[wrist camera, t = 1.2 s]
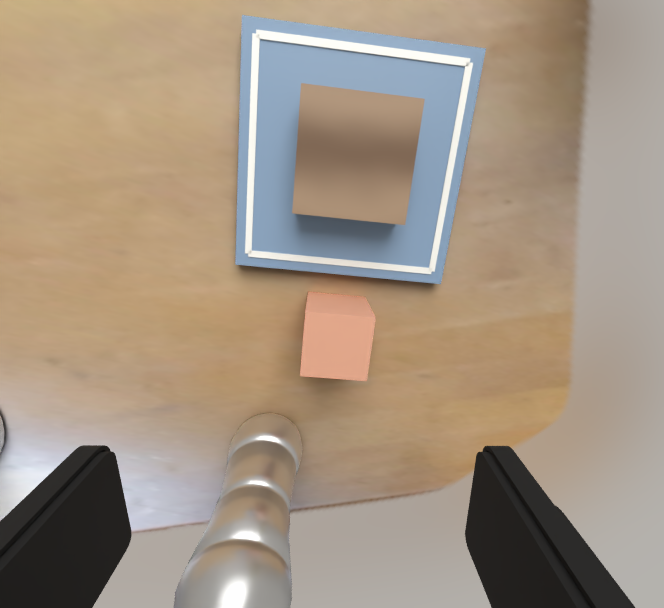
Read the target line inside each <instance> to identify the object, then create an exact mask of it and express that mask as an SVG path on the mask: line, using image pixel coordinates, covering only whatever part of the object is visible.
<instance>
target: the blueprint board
mask: <svg viewBox="0 0 664 608" xmlns="http://www.w3.org/2000/svg"><path fill="white" fill-rule="evenodd" d="M485 51H486V49H485V48H478V47H471V46H463V45H456V44H449V43H441V42H434V41H427V40H420V39H412V38H405V37H398V36H391V35H383V34H376V33H369V32H361V31H354V30H347V29H340V28H332V27H325V26H318V25H310V24H303V23H296V22H289V21H281V20H274V19H267V18H259V17H252V16H245V15H242V36H241V74H240V112H239V151H238V189H237V227H236V265H246V266H257V267H267V268H278V269H288V270H299V271H309V272H320V273H330V274H341V275H351V276H362V277H372V278H383V279H393V280H404V281H415V282H425V283H436V284H441V280H442V275H443V270H444V265H445V259H446V254H447V249H448V244H449V239H450V233H451V228H452V223H453V218H454V212H455V207H456V202H457V197H458V192H459V186H460V181H461V176H462V171H463V165H464V160H465V155H466V150H467V145H468V139H469V134H470V129H471V124H472V118H473V113H474V108H475V103H476V98H477V92H478V87H479V82H480V77H481V72H482V66H483V61H484V56H485ZM301 83H305V84H313V85H321V86H328V87H336V88H344V89H352V90H360V91H368V92H376V93H383V94H391V95H399V96H407V97H415V98H423V99H425V101H424V107H423V114H422V120H421V127H420V133H419V139H418V146H417V152H416V159H415V165H414V172H413V178H412V184H411V191H410V197H409V204H408V210H407V217H406V223H405V225H399V224H389V223H380V222H370V221H360V220H351V219H341V218H332V217H322V216H313V215H303V214H294V213H292V208H293V193H294V179H295V164H296V149H297V135H298V120H299V105H300V91H301Z"/></svg>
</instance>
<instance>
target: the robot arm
mask: <svg viewBox="0 0 664 608" xmlns="http://www.w3.org/2000/svg"><path fill="white" fill-rule="evenodd" d="M3 444H4V427H3V421H2V418H1V416H0V453H1V450H2V447H3ZM465 536H466V543H467V547H468V549H469V552H470V555H471V557H472V560H473V562H474V564H475V567H476V569H477V572H478V574H479V577H480V579H481V582H482V584H483V587H484V589H485V592H486V594H487V597H488V599H489V602H490V604H491V607H492V608H635V607H634V605H633V604H632V603H631V601H630V600H629V599H628V597H627V596H626V595H625V593H624V592H623V591H622V589H621V588H620V587H619V585H618V584H617V583H616V582H615V580H614V579H613V578H612V576H611V575H610V574H609V572H608V571H607V570H606V568H605V567H604V566H603V565H602V563H601V562H600V561H599V559H598V558H597V557H596V555H595V554H594V553H593V551H592V550H591V549H590V547H589V546H588V545H587V543H586V542H585V541H584V539H583V538H582V537H581V535H580V534H579V533H578V532H577V530H576V529H575V528H574V526H573V525H572V524H571V523H570V521H569V520H568V519H567V517H566V516H565V515H564V513H563V512H562V511H561V510H560V509H559V508H558V507H557V506H555V505H554V504H553V503H552V502H551V500H550V499H549V498H548V496H547V495H546V493H545V492H544V491H543V490H542V488H541V487H540V485H539V484H538V483H537V481H536V480H535V479H534V477H533V476H532V475H531V474H530V472H529V471H528V470H527V468H526V467H525V465H524V464H523V463H522V461H521V460H520V459H519V457H518V456H517V455H516V453H515V452H514V451H513V450H512V449H511V448H510V447H509V446H485V447H484V449H483V452H478V453H477V456H476V463H475V469H474V476H473V483H472V490H471V496H470V503H469V510H468V516H467V524H466V530H465ZM130 540H131V527H130V522H129V518H128V513H127V508H126V503H125V498H124V493H123V489H122V484H121V479H120V474H119V469H118V464H117V460H116V456H115V453H114V452H110V449H109V448H108V447H107V446H80V447H78V448H77V449H76V450H75V451H74V452H73V453H71V454H70V455H69V456H68V457H67V458H66V459H65V460H64V461H63V462H62V463H61V464H60V465H59V466H58V467H57V468H56V469H55V470H54V471H53V472H52V473H51V474H49V475H48V476H47V477H46V478H45V479H44V480H43V481H42V482H41V483H40V484H39V485H38V486H37V487H36V488H35V489H34V490H33V491H32V492H31V493H30V494H29V495H27V496H26V497H25V498H24V499H23V500H22V501H21V502H20V503H19V504H18V505H17V506H16V507H15V508H14V509H13V510H12V511H11V512H10V513H9V514H8V515H7V516H5V517H4V518H3V519H2V520H1V521H0V608H92V607H93V605H94V604H95V602H96V600H97V599H98V597H99V595H100V594H101V592H102V590H103V589H104V587H105V585H106V584H107V582H108V580H109V578H110V577H111V575H112V573H113V572H114V570H115V568H116V567H117V565H118V563H119V562H120V560H121V558H122V557H123V555H124V553H125V552H126V549H127V548H128V546H129V543H130Z"/></svg>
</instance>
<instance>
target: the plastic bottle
mask: <svg viewBox="0 0 664 608" xmlns="http://www.w3.org/2000/svg"><path fill="white" fill-rule="evenodd" d="M302 452H303V451H302V442H301V436H300V433H299V430H298V429H297V427H296V426H295V425H294V423H293V422H292V421H290V420H289V419H288V418H286V417H284V416H282V415H279V414H274V413H264V414H260V415H256V416H254V417H251V418H249V419H248V420H247V421H245V422H244V423H243V424H242V425H241V426H240V428H239V429H238V431H237V432H236V434H235V435H234V437H233V438H232V441H231V443H230V447H229V452H228V459H227V470H226V474H225V478H224V482H223V486H222V490H221V494H220V497H219V499H218V502H217V504H216V507H215V509H214V511H213V514H212V516H211V519H210V521H209V524H208V526H207V528H206V530H205V532H204V534H203V536H202V538H201V539H200V541H199V543H198V545H197V547H196V549H195V551H194V553H193V555H192V557H191V559H190V560H189V562H188V565H187V566H186V568H185V571H184V573H183V575H182V577H181V579H180V582H179V584H178V586H177V589H176V592H175V602H174V608H290V605H291V599H292V592H291V591H292V581H291V580H292V579H291V564H290V546H289V525H290V502H291V496H292V491H293V486H294V481H295V477H296V474H297V472H298V469H299V466H300V462H301V458H302Z"/></svg>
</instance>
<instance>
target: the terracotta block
mask: <svg viewBox="0 0 664 608" xmlns="http://www.w3.org/2000/svg"><path fill="white" fill-rule="evenodd" d="M375 320H376V317H375V315H374V313H373V311H372V309H371V307H370V306H369V304H368V302H367V300H366V298H365V297H361V296H350V295H339V294H329V293H318V292H308V296H307V303H306V310H305V321H304V333H303V345H302V357H301V369H300V376H306V377H319V378H332V379H345V380H359V381H367V376H368V369H369V362H370V355H371V348H372V341H373V334H374V327H375Z"/></svg>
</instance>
